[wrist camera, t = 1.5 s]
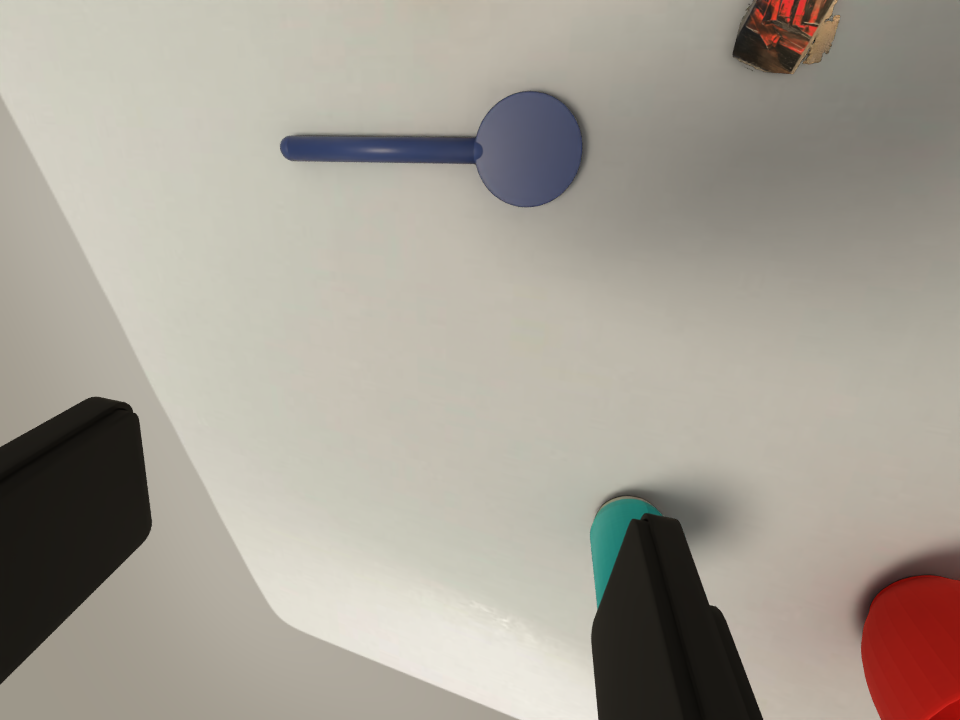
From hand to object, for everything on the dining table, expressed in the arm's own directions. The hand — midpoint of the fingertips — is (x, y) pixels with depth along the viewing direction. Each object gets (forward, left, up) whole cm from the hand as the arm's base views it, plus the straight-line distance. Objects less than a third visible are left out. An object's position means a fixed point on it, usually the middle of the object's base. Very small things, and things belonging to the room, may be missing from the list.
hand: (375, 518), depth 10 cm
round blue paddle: (-2, -7, -25) cm, 26 cm away
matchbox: (-19, +2, -25) cm, 31 cm away
